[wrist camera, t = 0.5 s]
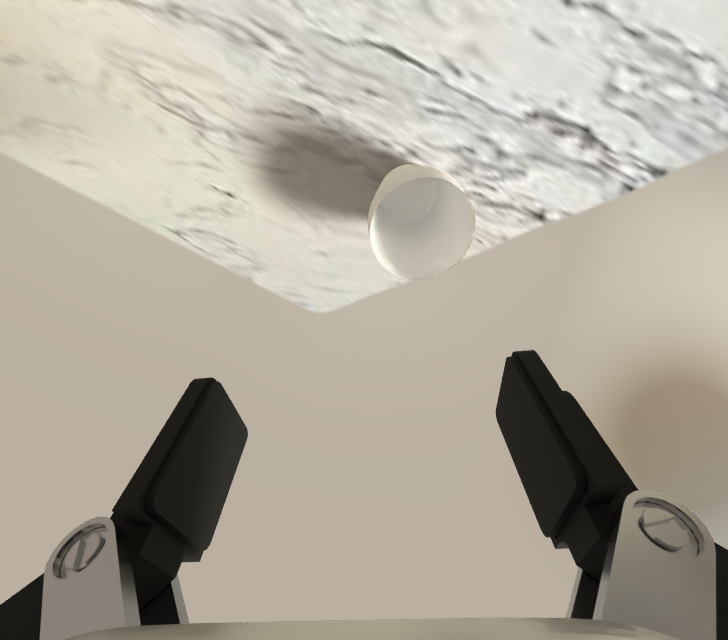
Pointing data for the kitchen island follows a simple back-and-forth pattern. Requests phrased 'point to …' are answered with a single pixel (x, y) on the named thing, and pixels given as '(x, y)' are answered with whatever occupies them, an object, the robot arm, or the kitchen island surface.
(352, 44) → the kitchen island surface
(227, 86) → the kitchen island surface
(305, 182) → the kitchen island surface
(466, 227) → the cup
